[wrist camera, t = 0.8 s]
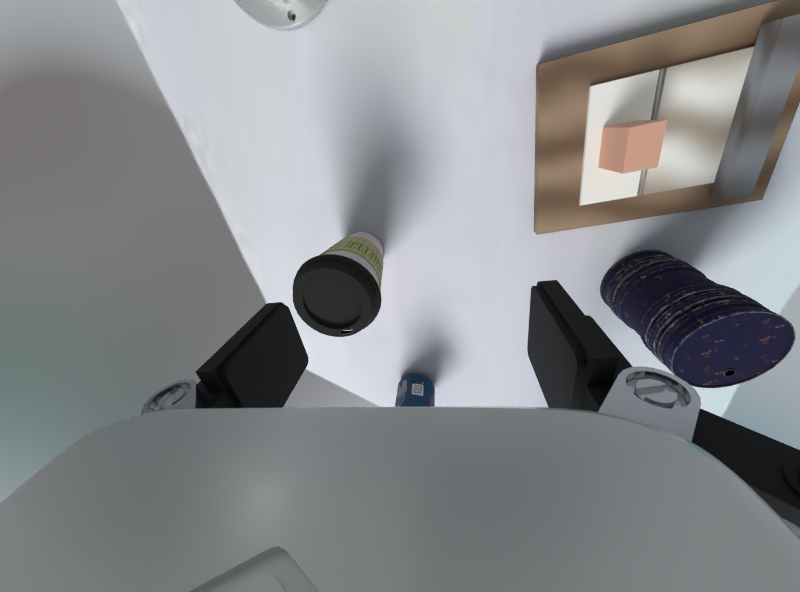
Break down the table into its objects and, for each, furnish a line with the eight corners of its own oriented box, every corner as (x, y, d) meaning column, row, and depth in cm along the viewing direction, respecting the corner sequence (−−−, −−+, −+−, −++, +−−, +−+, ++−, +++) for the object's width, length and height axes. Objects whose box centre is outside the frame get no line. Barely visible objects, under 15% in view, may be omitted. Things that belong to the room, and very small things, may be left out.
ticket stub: (589, 86, 29) (617, 79, 25) (656, 70, 28) (700, 59, 24) (579, 204, 35) (600, 216, 31) (634, 195, 34) (666, 206, 29)
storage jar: (593, 266, 40) (666, 330, 28) (676, 237, 37) (802, 294, 24) (605, 319, 44) (673, 398, 32) (681, 297, 41) (791, 374, 28)
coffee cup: (380, 209, 40) (353, 248, 27) (405, 271, 44) (392, 330, 31) (319, 231, 42) (268, 277, 29) (348, 288, 47) (314, 349, 34)
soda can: (431, 398, 57) (429, 457, 47) (396, 392, 58) (388, 450, 47) (437, 373, 54) (437, 432, 44) (401, 367, 54) (392, 424, 44)
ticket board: (536, 66, 30) (548, 58, 27) (825, -11, 26) (883, -32, 22) (533, 231, 39) (543, 240, 35) (750, 196, 34) (784, 204, 31)
